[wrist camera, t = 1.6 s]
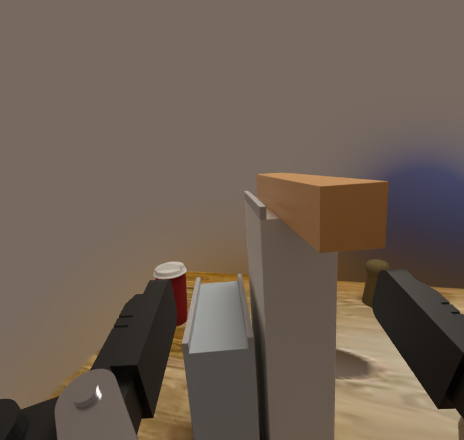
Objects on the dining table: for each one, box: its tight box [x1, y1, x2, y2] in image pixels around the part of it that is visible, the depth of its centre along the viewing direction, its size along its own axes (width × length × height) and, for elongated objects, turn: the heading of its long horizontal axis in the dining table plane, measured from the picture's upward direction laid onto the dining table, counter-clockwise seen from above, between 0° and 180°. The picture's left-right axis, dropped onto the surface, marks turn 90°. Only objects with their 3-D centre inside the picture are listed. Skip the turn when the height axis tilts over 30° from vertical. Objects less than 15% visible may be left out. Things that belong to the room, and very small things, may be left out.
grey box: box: [182, 274, 260, 440], centre depth 30 cm, size 13×6×22 cm, turn 3°
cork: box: [362, 259, 389, 307], centre depth 64 cm, size 6×6×11 cm
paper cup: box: [153, 262, 187, 326], centre depth 62 cm, size 8×8×14 cm
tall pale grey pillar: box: [244, 191, 337, 440], centre depth 29 cm, size 13×6×33 cm, turn 2°
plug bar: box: [256, 173, 389, 253], centre depth 21 cm, size 20×3×3 cm, turn 3°
